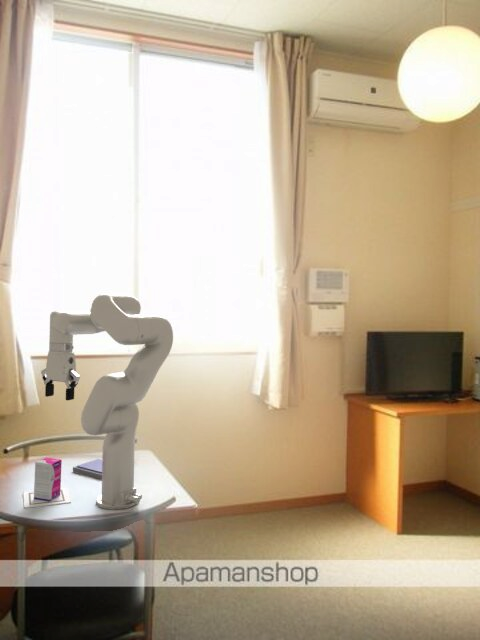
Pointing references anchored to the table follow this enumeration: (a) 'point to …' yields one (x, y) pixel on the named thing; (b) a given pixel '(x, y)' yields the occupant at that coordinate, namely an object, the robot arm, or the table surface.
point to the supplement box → (47, 479)
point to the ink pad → (90, 469)
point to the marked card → (32, 502)
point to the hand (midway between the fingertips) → (59, 397)
